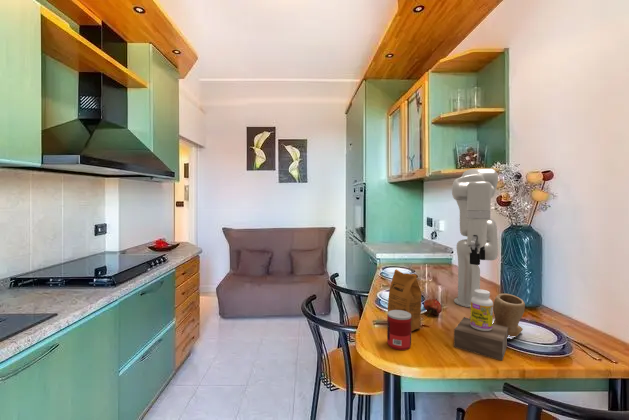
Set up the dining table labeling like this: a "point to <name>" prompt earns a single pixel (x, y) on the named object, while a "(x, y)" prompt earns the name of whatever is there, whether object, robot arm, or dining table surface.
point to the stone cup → (508, 312)
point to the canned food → (399, 329)
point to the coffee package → (406, 296)
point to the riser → (481, 339)
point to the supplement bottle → (481, 310)
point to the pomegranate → (433, 306)
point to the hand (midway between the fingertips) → (477, 261)
